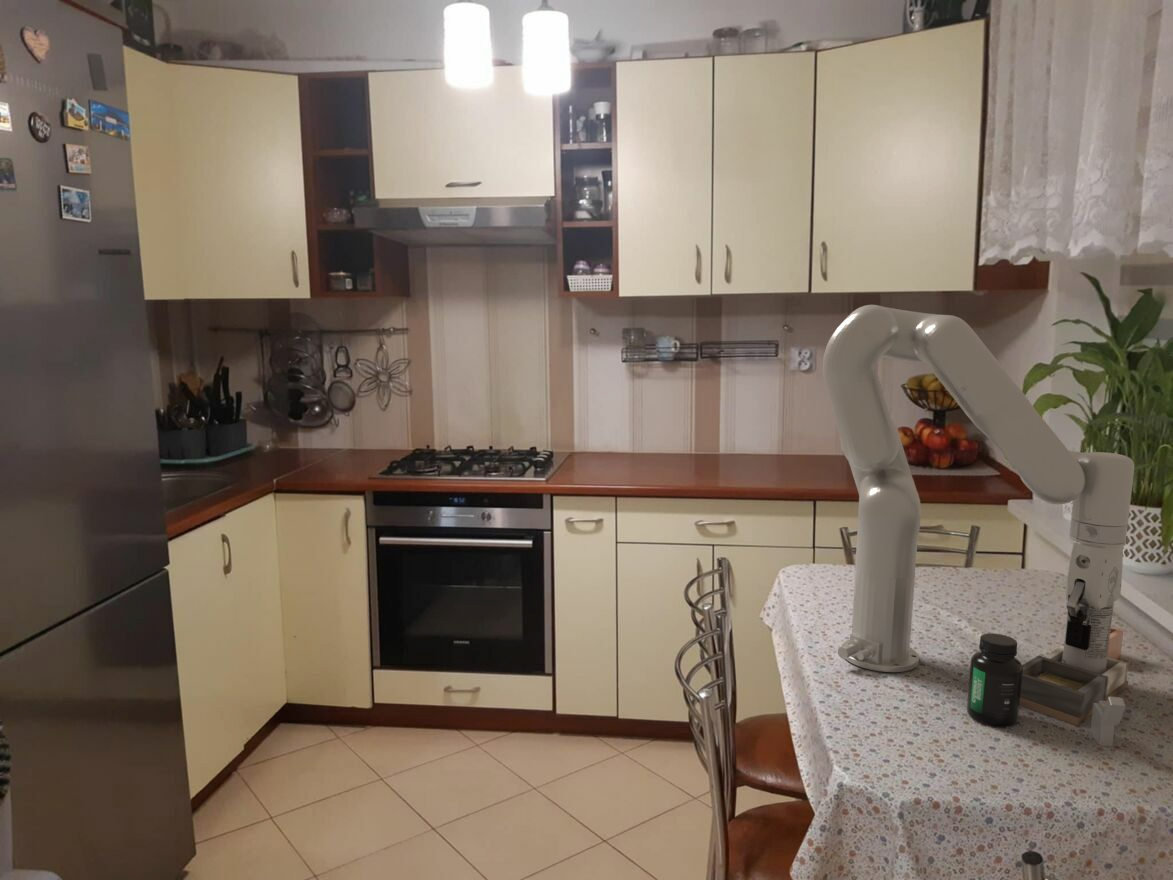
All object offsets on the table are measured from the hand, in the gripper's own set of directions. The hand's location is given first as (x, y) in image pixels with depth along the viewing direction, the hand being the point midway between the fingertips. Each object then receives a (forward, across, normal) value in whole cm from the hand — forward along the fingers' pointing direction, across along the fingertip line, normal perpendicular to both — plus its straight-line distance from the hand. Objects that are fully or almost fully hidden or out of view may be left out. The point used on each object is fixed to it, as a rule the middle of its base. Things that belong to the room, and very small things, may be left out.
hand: (1085, 640), depth 133 cm
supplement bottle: (+8, -22, +4) cm, 24 cm away
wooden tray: (+7, -5, 0) cm, 9 cm away
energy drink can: (+6, 0, 0) cm, 6 cm away
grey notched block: (+8, -18, -10) cm, 22 cm away
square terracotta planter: (+7, +14, +3) cm, 16 cm away
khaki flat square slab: (+6, -10, 0) cm, 12 cm away
